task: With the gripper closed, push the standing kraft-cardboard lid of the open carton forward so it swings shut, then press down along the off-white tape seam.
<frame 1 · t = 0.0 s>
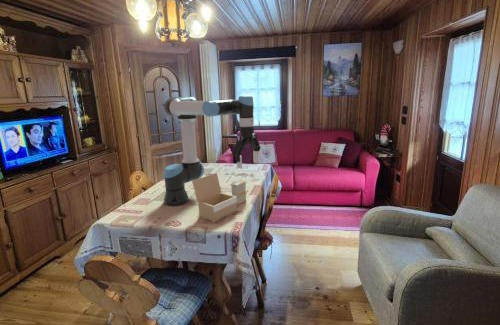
hand: (247, 165, 153), 28 cm above the table, fingers open, 13 cm apart
carton: (218, 214, 159), on the table
lid: (207, 186, 161), point 15 cm above the table, hinge at 105.0°
supplement box: (239, 202, 176), on the table
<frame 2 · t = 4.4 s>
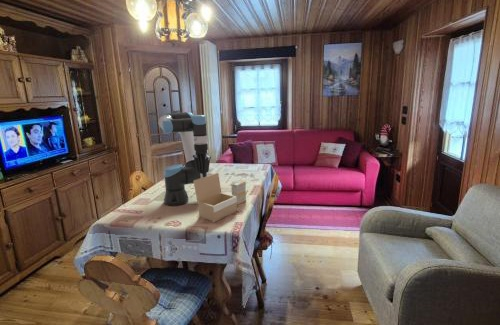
hand: (203, 183, 162), 16 cm above the table, fingers closed
lid: (208, 186, 160), point 15 cm above the table, hinge at 98.6°, touching gripper
everything else where it was.
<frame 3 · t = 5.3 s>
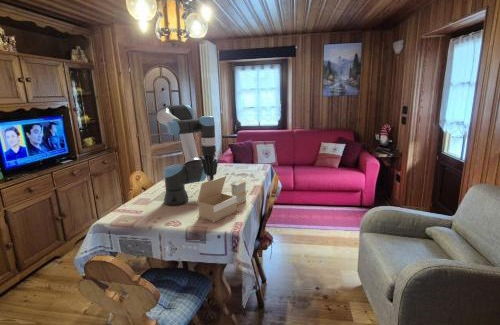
hand: (210, 186, 158), 16 cm above the table, fingers closed
lid: (212, 188, 158), point 15 cm above the table, hinge at 66.2°, touching gripper
everything else where it was.
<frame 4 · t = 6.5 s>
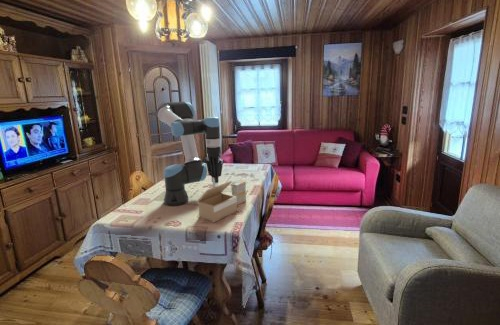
hand: (215, 188, 157), 15 cm above the table, fingers closed
lid: (214, 191, 157), point 13 cm above the table, hinge at 42.3°, touching gripper
everything else where it was.
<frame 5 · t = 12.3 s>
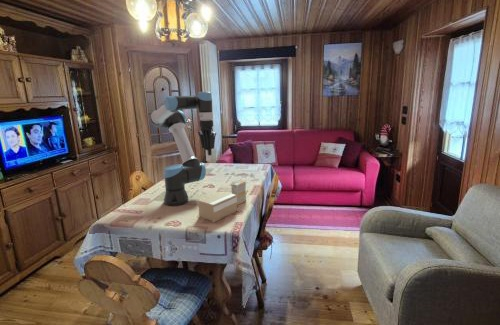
hand: (208, 160, 165), 28 cm above the table, fingers closed
lid: (217, 198, 157), point 10 cm above the table, hinge at 0.8°
everything else where it was.
at the end: lid at +1° (first picture: +105°) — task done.
